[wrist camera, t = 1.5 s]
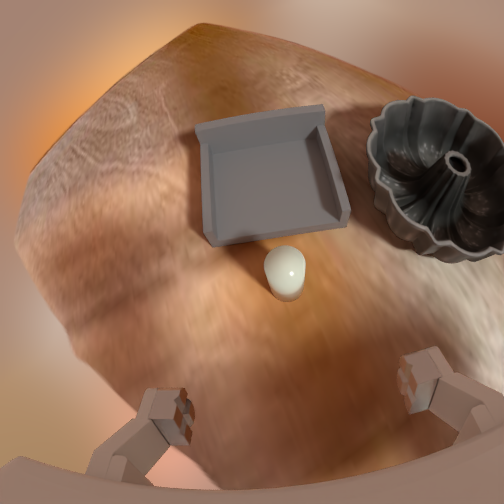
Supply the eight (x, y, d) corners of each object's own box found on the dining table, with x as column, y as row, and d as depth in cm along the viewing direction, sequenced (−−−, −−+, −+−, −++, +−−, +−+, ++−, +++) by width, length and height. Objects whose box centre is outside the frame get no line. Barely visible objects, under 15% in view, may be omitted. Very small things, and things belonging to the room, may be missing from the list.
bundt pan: (483, 150, 45) (504, 116, 35) (507, 287, 36) (544, 266, 27) (355, 125, 50) (361, 82, 40) (352, 270, 41) (367, 241, 32)
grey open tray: (346, 227, 43) (354, 197, 36) (212, 247, 45) (196, 222, 37) (321, 138, 49) (322, 104, 42) (208, 156, 51) (195, 124, 43)
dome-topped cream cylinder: (306, 299, 40) (308, 281, 32) (272, 304, 41) (266, 287, 33) (301, 267, 42) (301, 242, 34) (268, 272, 42) (261, 248, 34)
